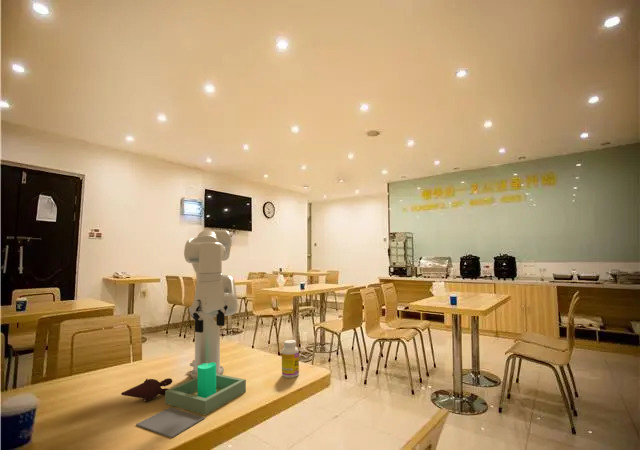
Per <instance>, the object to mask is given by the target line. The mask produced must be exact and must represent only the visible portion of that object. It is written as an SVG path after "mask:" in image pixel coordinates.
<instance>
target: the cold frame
mask: <svg viewBox="0 0 640 450" xmlns="http://www.w3.org/2000/svg"><path fill="white" fill-rule="evenodd" d="M216 388H219V389H220V390H219V391H216V393H215V394H213V395H211V396H209V397H207V398H203V397H199V396H197V395H194V394H193V393H195V392H197V390H198V377H196V378H192V379H189V380H187V381H184V382H181V383H180V384H178V385H175V386H173V387H171V388H167V389H168V390H166V391H165V395H164V396H165V397H164V398H165V399H164V404H166V405H168V406H172V407H174V408H175V407H176V408H177V409H183V410H184V411H186V410H187V411H189V412H191V413H192V412H193V413H195V414H196V413H197V414H198V415H199V414H200V415H201V416H202V415H203V416H206V415H208V414H210V413H212V412H213V411H215V410H217V409H218V408H220V407H222V406H223V405H225V404H227V403H229V402H231V401H232V400H234V399H235V398H237V397H240V395H242V394H244V393H246V392H247V380H246V378H245V379H244V378H239V377H234V376H230V375H225V374H216Z"/></svg>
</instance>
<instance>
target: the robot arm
mask: <svg viewBox="0 0 640 450" xmlns="http://www.w3.org/2000/svg"><path fill="white" fill-rule="evenodd" d="M231 247H232V237H231V233H230V232H229V231H228V230H226V229H205V230H201V232H199V233H198V234H197V237H193V238H190V239H188V240H186V242H185V245H184V250H183V256H184V260H185V261H186V263H188V264H191V265H192V267H193V270H194V272H195V273H196V274H195V275H196V286H195V291H194V298H193V301H192V305H191V306H189V308H188V311H189V314H190V316H191V317H192V319H193V320H194V359H193V360H192V362H190V363H189V366H190V367H193V369H192V371H190V377H191V378H192V379H193V378H196V377H198V366H199V365H201V364H203V363H212V362H214V363H216V374H221V375H223V373H224V372H225V371H224V370H225V369H224V368H225V367H224V366H221V361H220V359H221V358H220V357H221V354H220V353H221V351H220V350H221V345H220V344H221V343H220V342H221V340H220V339H221V338H220V336H221V330H220V329H221V328H220V327H224V326H225V324H226V323H225V321H226V320H225V317H227V316H234V315H235V314H236V313H237V311H238V306H239V304H238V296H237V292H236V290H237V289H236V283H235V280H234V277H233V276H232V275H228V274H223V273H222V265H223V264H222V262H224V261H228V259H229V257H230V254H231ZM214 318H216V320H215V319H214Z"/></svg>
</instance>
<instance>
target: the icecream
mask: <svg viewBox="0 0 640 450" xmlns="http://www.w3.org/2000/svg"><path fill="white" fill-rule="evenodd" d="M172 383H173V379H172V378H170V377H169V378H165V379H164V380H161V381H158V379H154V378H145V380H143V383H140V384H138V385H136V386H133V387H131V388H129V389H127V390H125V391H123V392H121V393H120V395H121V396H126V397H132V398H139V399H143V401H144V400H145V401H144V402H147V401H150V400H153V399H155V398H157V396H158V395H159V396H165V391H166V390H168V389H169V388H165V387H168V386H170V385H171V384H172ZM163 387H164V388H163Z"/></svg>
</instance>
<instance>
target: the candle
mask: <svg viewBox="0 0 640 450" xmlns="http://www.w3.org/2000/svg"><path fill="white" fill-rule="evenodd" d="M196 392H197V393H196V394H197V395H196V396H199V397H203V398H207V397H209V396H211V395H213V394H215V393H216V392H217V387H216V363H214V362H212V363H203V364H201V365H199V366H198V390H197V391H196Z"/></svg>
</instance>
